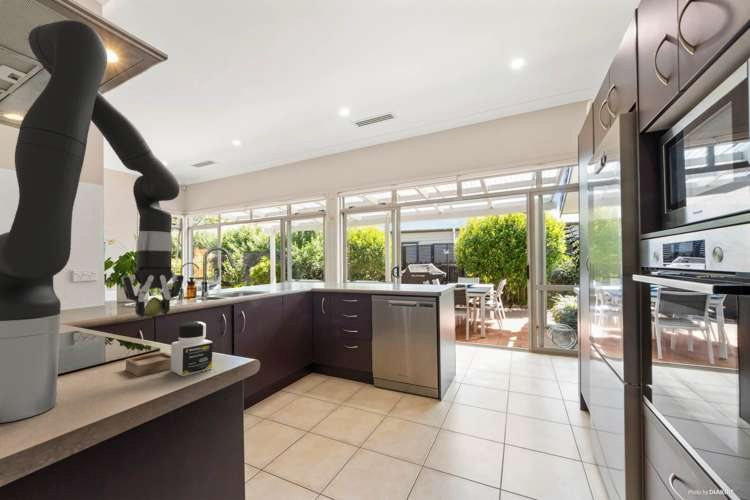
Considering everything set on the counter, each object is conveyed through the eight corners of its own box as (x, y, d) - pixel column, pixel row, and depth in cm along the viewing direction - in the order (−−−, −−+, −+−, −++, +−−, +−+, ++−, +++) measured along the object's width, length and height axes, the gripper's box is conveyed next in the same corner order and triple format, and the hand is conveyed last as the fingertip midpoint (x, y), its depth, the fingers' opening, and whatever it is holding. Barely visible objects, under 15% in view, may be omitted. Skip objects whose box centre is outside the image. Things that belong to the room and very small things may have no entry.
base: (137, 376, 77) (137, 365, 77) (125, 369, 82) (126, 359, 82) (176, 367, 83) (176, 357, 84) (163, 361, 89) (163, 351, 89)
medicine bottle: (182, 376, 77) (183, 326, 77) (170, 370, 81) (171, 323, 81) (212, 369, 82) (213, 322, 83) (199, 363, 87) (200, 319, 87)
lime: (144, 318, 80) (144, 298, 80) (140, 316, 83) (140, 297, 84) (164, 316, 83) (165, 297, 83) (160, 314, 87) (160, 296, 87)
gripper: (178, 251, 92) (176, 310, 91) (116, 249, 80) (113, 317, 80) (190, 250, 87) (188, 313, 86) (126, 248, 76) (123, 320, 75)
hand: (152, 314), depth 83 cm, fingers closed on lime, 4 cm apart
